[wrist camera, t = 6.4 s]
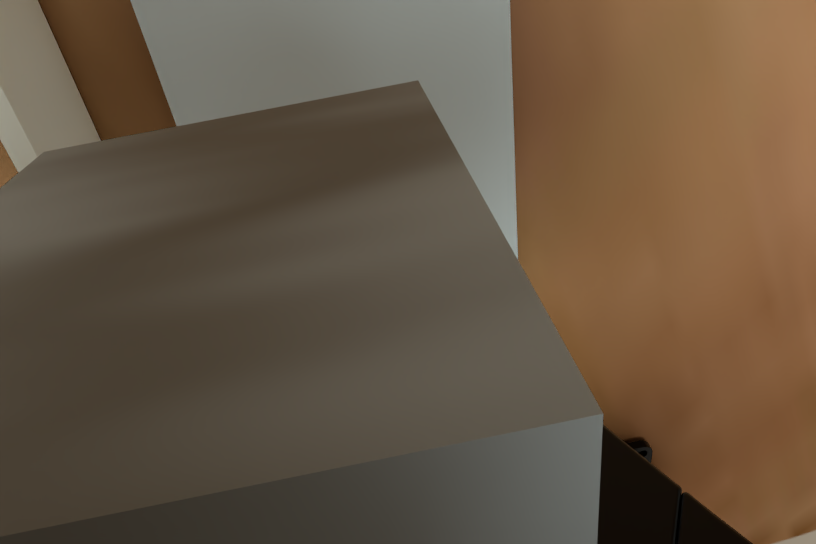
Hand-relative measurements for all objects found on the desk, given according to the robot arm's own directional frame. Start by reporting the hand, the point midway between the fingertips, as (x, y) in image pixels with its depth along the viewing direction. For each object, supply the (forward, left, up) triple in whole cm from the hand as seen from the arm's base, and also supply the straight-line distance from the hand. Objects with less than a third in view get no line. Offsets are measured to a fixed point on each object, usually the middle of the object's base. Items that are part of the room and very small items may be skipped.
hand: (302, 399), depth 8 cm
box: (0, +1, -2) cm, 2 cm away
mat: (-1, +1, -11) cm, 11 cm away
